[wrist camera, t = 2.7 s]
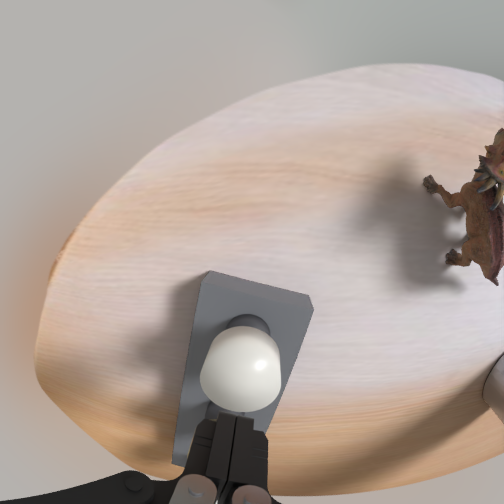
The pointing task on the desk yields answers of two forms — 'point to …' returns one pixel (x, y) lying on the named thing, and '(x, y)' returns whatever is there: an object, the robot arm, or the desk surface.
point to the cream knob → (242, 370)
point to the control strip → (227, 316)
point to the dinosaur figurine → (481, 212)
